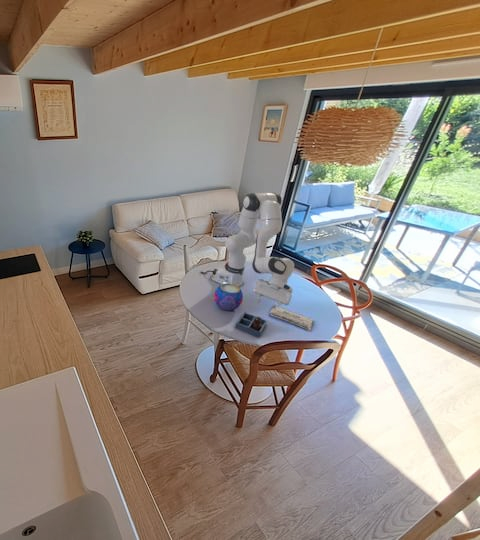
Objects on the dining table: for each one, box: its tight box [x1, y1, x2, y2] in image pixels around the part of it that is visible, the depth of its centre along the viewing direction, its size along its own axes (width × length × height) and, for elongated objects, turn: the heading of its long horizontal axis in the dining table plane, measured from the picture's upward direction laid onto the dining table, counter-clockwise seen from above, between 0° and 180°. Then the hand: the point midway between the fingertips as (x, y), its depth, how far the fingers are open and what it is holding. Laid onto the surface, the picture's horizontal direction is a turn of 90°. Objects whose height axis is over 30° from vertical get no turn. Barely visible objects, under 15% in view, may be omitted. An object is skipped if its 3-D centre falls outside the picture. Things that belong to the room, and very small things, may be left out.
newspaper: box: [269, 306, 314, 331], centre depth 176 cm, size 23×12×2 cm, turn 48°
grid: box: [235, 311, 268, 338], centre depth 169 cm, size 13×13×4 cm
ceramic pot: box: [213, 283, 244, 311], centre depth 184 cm, size 18×18×15 cm
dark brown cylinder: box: [252, 316, 262, 331], centre depth 163 cm, size 4×4×10 cm
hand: (266, 305), depth 165 cm, fingers open, 8 cm apart
